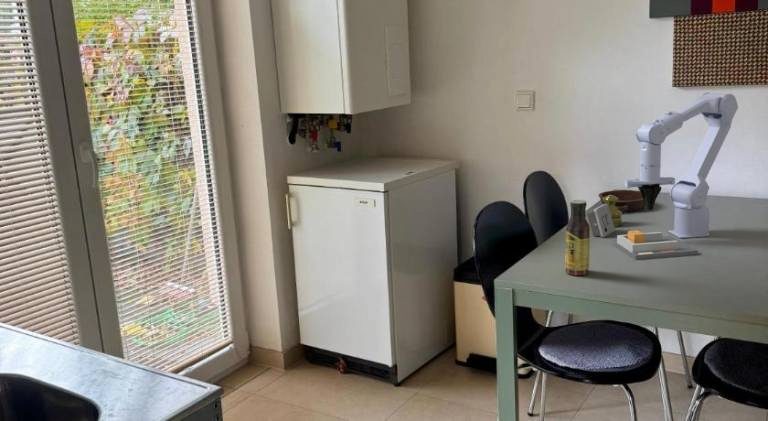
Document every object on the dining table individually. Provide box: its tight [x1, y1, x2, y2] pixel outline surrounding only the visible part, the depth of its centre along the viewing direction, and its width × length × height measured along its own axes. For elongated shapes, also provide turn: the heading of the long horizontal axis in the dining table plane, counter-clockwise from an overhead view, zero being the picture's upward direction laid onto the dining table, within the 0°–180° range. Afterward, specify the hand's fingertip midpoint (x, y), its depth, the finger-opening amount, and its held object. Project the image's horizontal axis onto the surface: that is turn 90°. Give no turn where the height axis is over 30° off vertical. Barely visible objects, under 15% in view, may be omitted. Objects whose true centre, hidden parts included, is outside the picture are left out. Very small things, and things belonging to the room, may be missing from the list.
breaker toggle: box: [627, 229, 645, 244], centre depth 207 cm, size 3×4×4 cm, turn 5°
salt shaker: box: [603, 195, 623, 228], centre depth 236 cm, size 7×7×10 cm
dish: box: [598, 189, 645, 213], centre depth 259 cm, size 18×22×5 cm
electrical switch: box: [586, 204, 615, 239], centre depth 226 cm, size 9×5×9 cm, turn 141°
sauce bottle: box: [564, 199, 591, 276], centre depth 189 cm, size 6×6×20 cm
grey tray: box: [612, 231, 699, 261], centre depth 208 cm, size 18×16×4 cm
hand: (649, 209), depth 214 cm, fingers closed
